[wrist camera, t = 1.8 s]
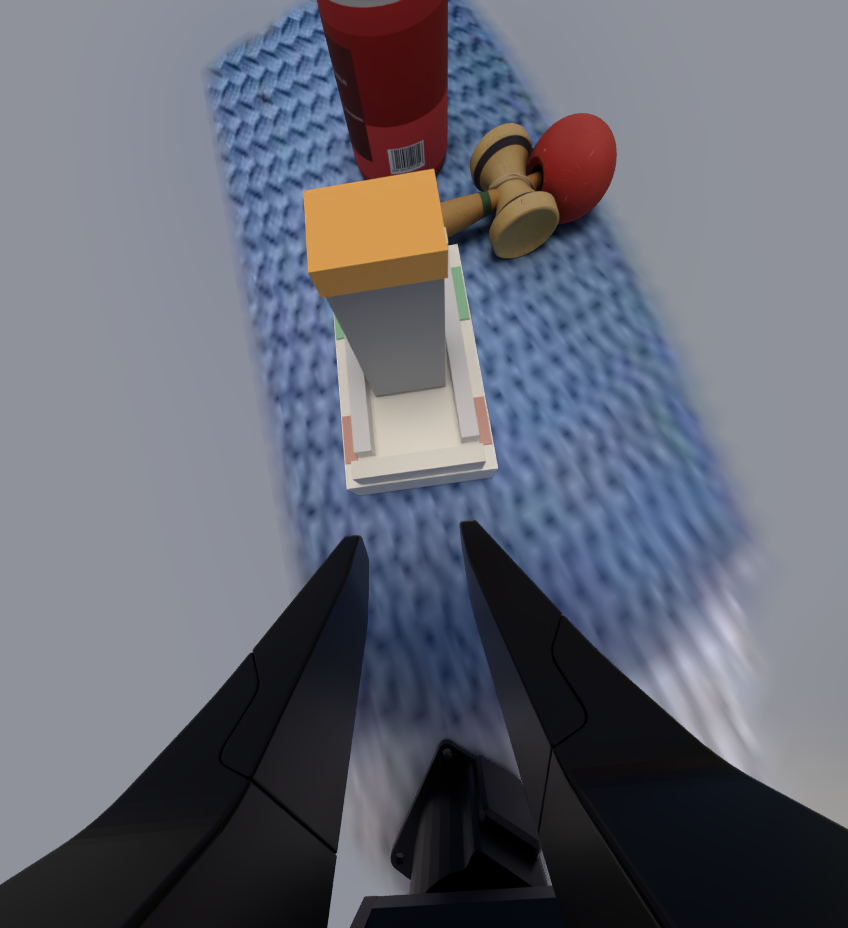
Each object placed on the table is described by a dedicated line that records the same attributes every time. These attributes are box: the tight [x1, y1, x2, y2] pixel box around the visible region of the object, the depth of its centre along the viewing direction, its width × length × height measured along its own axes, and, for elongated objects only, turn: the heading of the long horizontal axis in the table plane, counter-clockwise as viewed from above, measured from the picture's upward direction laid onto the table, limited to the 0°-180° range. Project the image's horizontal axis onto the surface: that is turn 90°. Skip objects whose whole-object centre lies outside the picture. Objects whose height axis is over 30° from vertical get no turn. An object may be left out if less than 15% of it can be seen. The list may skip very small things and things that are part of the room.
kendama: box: [440, 113, 617, 259], centre depth 25 cm, size 8×6×18 cm
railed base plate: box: [333, 227, 498, 496], centre depth 22 cm, size 16×9×5 cm, turn 8°
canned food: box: [317, 0, 448, 180], centre depth 24 cm, size 8×8×11 cm
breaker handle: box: [304, 169, 448, 396], centre depth 16 cm, size 3×5×10 cm
